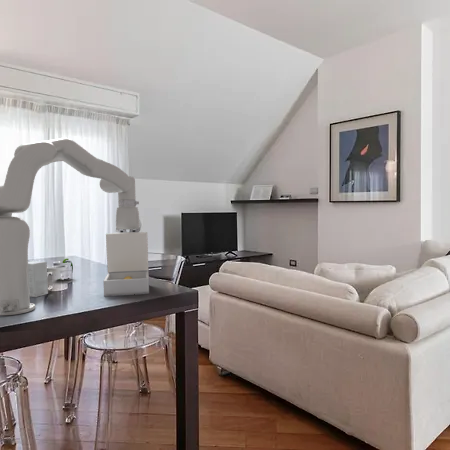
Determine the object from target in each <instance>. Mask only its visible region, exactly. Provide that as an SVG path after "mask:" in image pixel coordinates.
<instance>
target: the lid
mask: <svg viewBox="0 0 450 450" xmlns="http://www.w3.org/2000/svg"><path fill="white" fill-rule="evenodd" d="M105 241H106V242H105V243H106V246H105V247H106V260H107V261H106V263H107V274H108V273H126V272H146V271H148V272H149V247H148V245H149V244H148V243H149V242H148V232H147V231H143V232H142V231H139V232H130V231H129V232H128V231H126V232H120V233H119V232H110V233H109V232H108V233H107V232H106V233H105Z"/></svg>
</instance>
